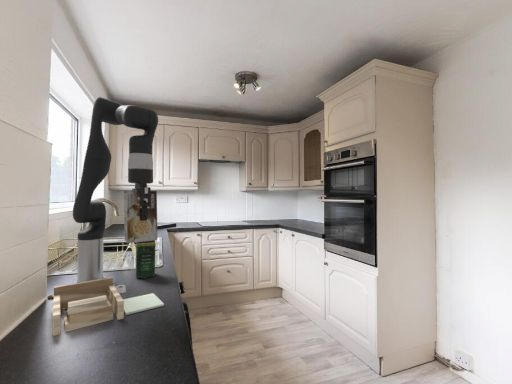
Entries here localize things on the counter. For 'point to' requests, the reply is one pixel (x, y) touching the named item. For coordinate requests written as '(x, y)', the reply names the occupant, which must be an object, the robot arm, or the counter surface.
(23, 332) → the counter surface
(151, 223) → the coffee box
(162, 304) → the sage mat
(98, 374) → the counter surface
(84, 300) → the offcut stack
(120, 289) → the kitchen cleaver
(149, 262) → the coffee jar
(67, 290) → the pine rack
